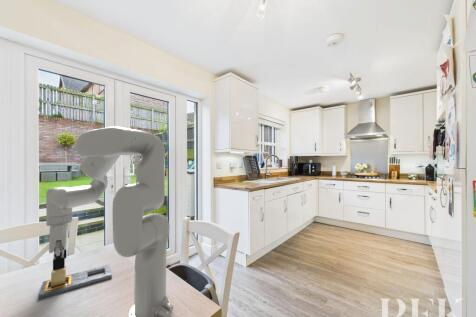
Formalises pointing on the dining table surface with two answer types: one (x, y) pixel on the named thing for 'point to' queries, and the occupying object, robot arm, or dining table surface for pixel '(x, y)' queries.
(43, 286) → the socket plate
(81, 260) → the dining table surface
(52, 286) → the brass plug
